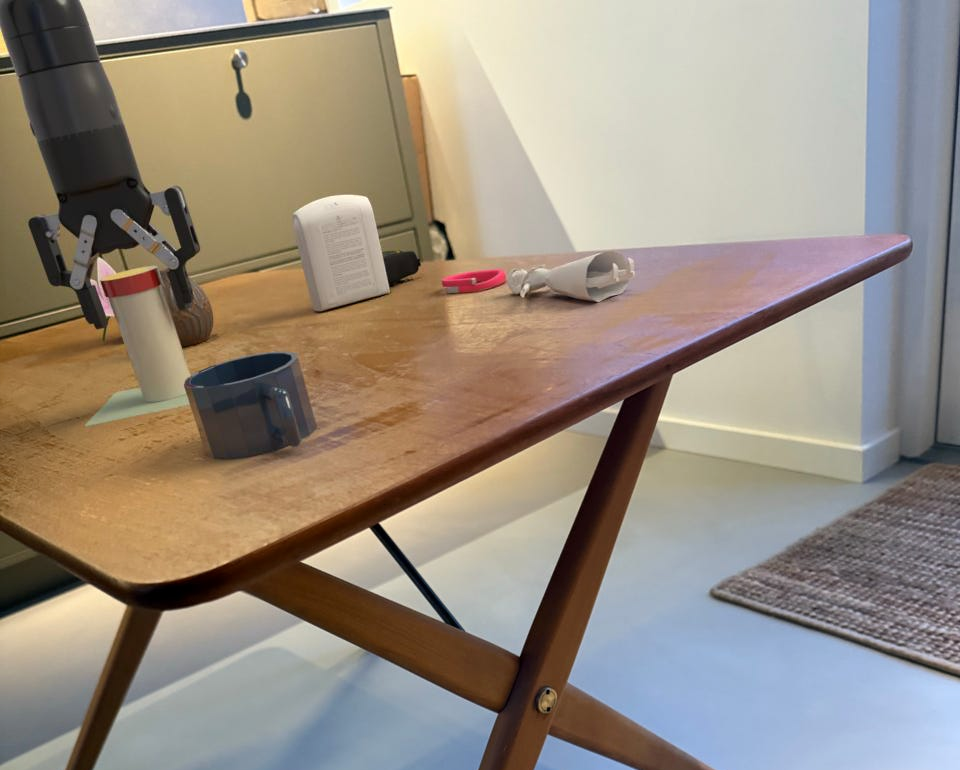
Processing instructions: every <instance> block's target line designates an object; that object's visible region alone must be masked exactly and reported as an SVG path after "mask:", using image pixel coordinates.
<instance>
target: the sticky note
mask: <svg viewBox="0 0 960 770" xmlns="http://www.w3.org/2000/svg"><path fill="white" fill-rule="evenodd" d="M187 406H190V403H189V400H188V397H187V394H185V395H182V396H180V397H177V398H173V399H170V400H165V401H160V402H145V401H144V399H143V396H142V393H141V390H140V387H139V386H138V387H135V388H131V389H130V388H129V389H125V390H120V391H116V392H113V395H112V396H111V397H109V399H108V400H107V401H106V402H104V404H103V405H102V406H101V407H100V408H99V409H98V410H97V412H95V414H94V415H93V416H91V418H90V419H89V420H88V421H87V422H86V423H85V425H84V426H83V427H84V428H86V427H90V426H95V425H99V424H105V423H109V422H114V421H119V420H124V419H128V418H134V417H139V416H144V415H148V414H153V413H157V412H162V411H163V412H164V411H168V410H172V409H177V408H182V407H187Z"/></svg>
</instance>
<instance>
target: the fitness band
mask: <svg viewBox="0 0 960 770" xmlns="http://www.w3.org/2000/svg"><path fill="white" fill-rule="evenodd" d="M476 281H479V282H476ZM505 282H507V278H506V272H505V269H503V268H502V269H501V268H495V269H483V270H474V271H467V272H461V273H456V274H452V275H449V276H446V277H443V278H442V279H441V285H442V287H443V288H445V292H446V293H445V294H458V293H459V294H460V293H471V292H478V291H482V290H487V289H490V288H493V287H498V286H500V285H501V284H503V283H505Z"/></svg>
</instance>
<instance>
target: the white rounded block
mask: <svg viewBox="0 0 960 770" xmlns="http://www.w3.org/2000/svg"><path fill="white" fill-rule="evenodd" d="M292 226H293V233H294V237H295V241H296V246H297V249H298V254H299V258H300V263H301V266H302V270H303V275H304V279H305V282H306V286H307V290H308V294H309V295H308V296H309V298H310V303H311V306H312V310H313V311H315V312H324V311H327V310H330V309H335V308H339V307H342V306H345V305H346V306H347V305H349V304H353V303H358V302H361V301H365V300H368V299H372V298H376V297H379V296H384V295H388V294H390V292H391V291H390V284H388V280H387V275H386V270H385V265H384V261H383V256H382V252H383V251H382V247H381V242H380V238H379V232H378V227H377V223H376V219H375V214H374V210H373V206H372V204H371V202H370V200H369V198H368V197H367V196H363V195H360V194H359V195H357V194H337V195H329V196H325V197H322V198H319V199H315V200H313V201H311V202H308V203H307V204H305V205H303V206H302V207H301V208H298V210H296V211H295V212H293V213H292Z"/></svg>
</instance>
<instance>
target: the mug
mask: <svg viewBox="0 0 960 770" xmlns="http://www.w3.org/2000/svg"><path fill="white" fill-rule="evenodd" d="M184 388H185V391H186V394H187V397H188V400H189V403H190V405H189V406H190V410H191V412H192V415H193V418H194V422H195V424H196V428H197V431H198V433H199V437H200V439H201V442H202V445H203V449H204V451H205V454H206V455H207V456H209V457H210V458H212V459H215V460H216V459H217V460H237V459H246V458H251V457H258V456H261V455H265V454H269V453H272V452H277V451H279V450H282V449H284V448H287V447H292V448H296V447H298V446H299V445H300V444H301V443H302V441H303V440H304V439H306V438H308V437H309V436H311V435H312V434H313V433H314V432H315V431H316V430H317V427H318V426H317V421H316V417H315V414H314V409H313V406H312V403H311V398H310V395H309V392H308V388H307V384H306V380H305V378H304V373H303V369H302V365H301V362H300V358H299V356H298V353H297V352H292V351H286V350H285V351H268V352H261V353H254V354H250V355H245V356H240V357H236V358H233V359H229V360H226V361H222V362H219V363H216V364H213V365H210V366H208V367H206V368H203V369H201V370H198V371H196V372H194V373H193V374H191V376H190V377H189V378H187V379H186V380H185V382H184Z"/></svg>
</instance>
